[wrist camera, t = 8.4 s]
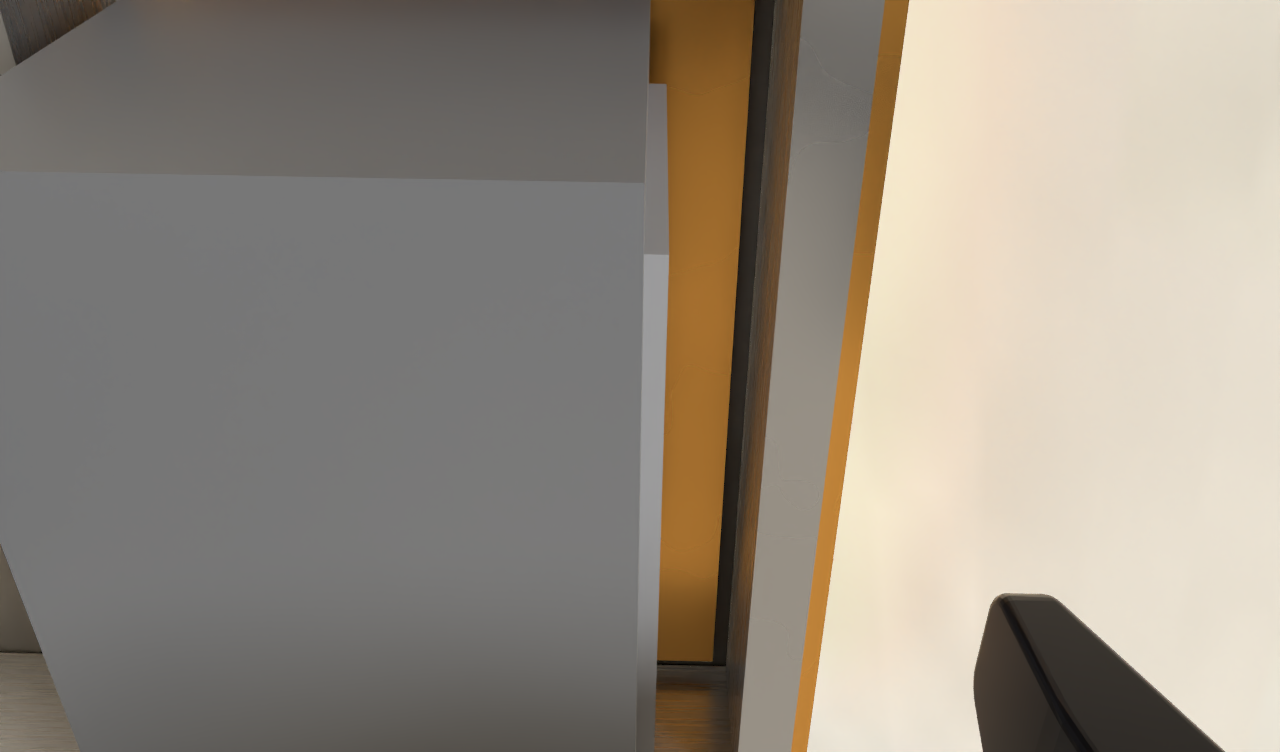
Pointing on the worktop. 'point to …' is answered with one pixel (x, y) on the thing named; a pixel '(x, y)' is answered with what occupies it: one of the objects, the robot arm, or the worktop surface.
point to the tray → (710, 351)
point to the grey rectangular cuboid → (338, 373)
